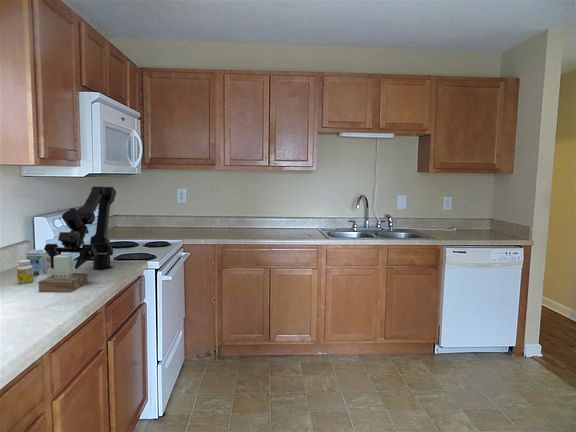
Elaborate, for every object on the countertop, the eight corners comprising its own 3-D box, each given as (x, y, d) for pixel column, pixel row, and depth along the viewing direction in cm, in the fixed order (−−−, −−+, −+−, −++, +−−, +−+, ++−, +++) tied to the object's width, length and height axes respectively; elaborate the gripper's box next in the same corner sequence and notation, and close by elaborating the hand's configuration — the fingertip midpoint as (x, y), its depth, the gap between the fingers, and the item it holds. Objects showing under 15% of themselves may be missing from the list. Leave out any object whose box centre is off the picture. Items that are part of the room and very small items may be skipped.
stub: (60, 285, 161) (59, 254, 160) (73, 285, 162) (72, 254, 160) (54, 288, 157) (53, 256, 156) (68, 288, 157) (66, 257, 156)
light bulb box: (26, 277, 176) (25, 252, 175) (32, 273, 183) (30, 249, 181) (54, 275, 179) (53, 251, 178) (58, 272, 185) (57, 248, 184)
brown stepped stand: (57, 281, 169) (57, 270, 169) (96, 282, 170) (96, 271, 169) (27, 296, 150) (27, 284, 149) (72, 296, 150) (71, 284, 149)
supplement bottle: (36, 283, 166) (35, 260, 165) (22, 286, 162) (21, 262, 161) (28, 281, 169) (27, 258, 168) (15, 284, 164) (13, 261, 163)
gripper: (45, 223, 162) (29, 256, 153) (92, 224, 163) (80, 257, 153) (57, 240, 171) (43, 272, 161) (102, 240, 171) (90, 272, 162)
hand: (63, 268), depth 159 cm, fingers open, 9 cm apart
